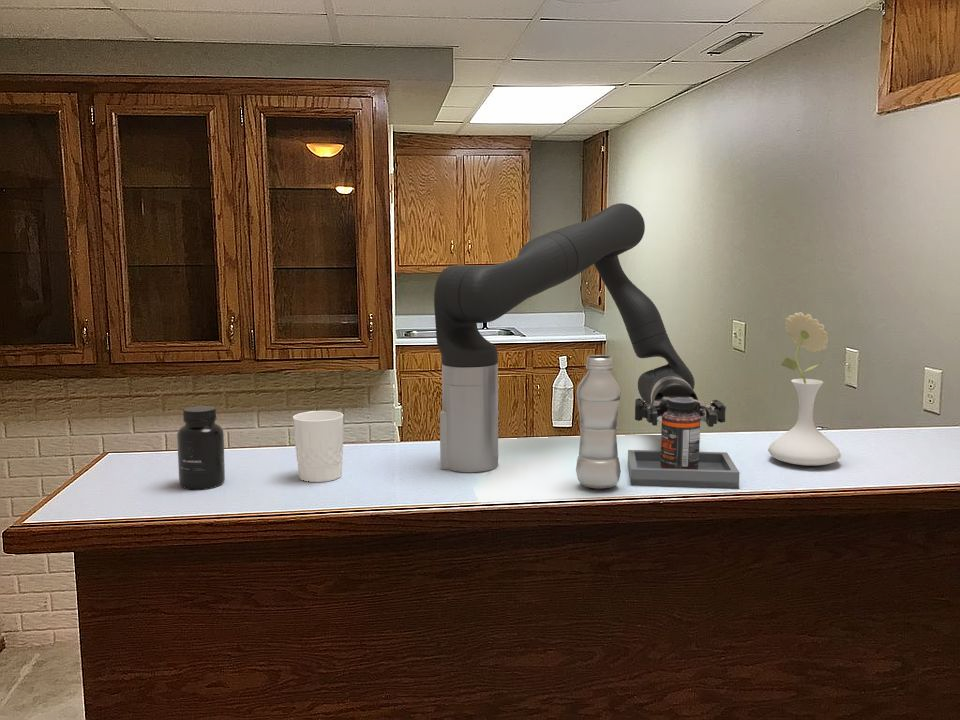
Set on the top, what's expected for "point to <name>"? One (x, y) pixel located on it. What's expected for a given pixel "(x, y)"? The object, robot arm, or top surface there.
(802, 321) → the flower in vase
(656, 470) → the gray tray
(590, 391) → the plastic bottle
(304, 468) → the white cup
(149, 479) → the top surface
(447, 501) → the top surface
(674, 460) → the supplement bottle
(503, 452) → the top surface
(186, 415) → the supplement bottle
